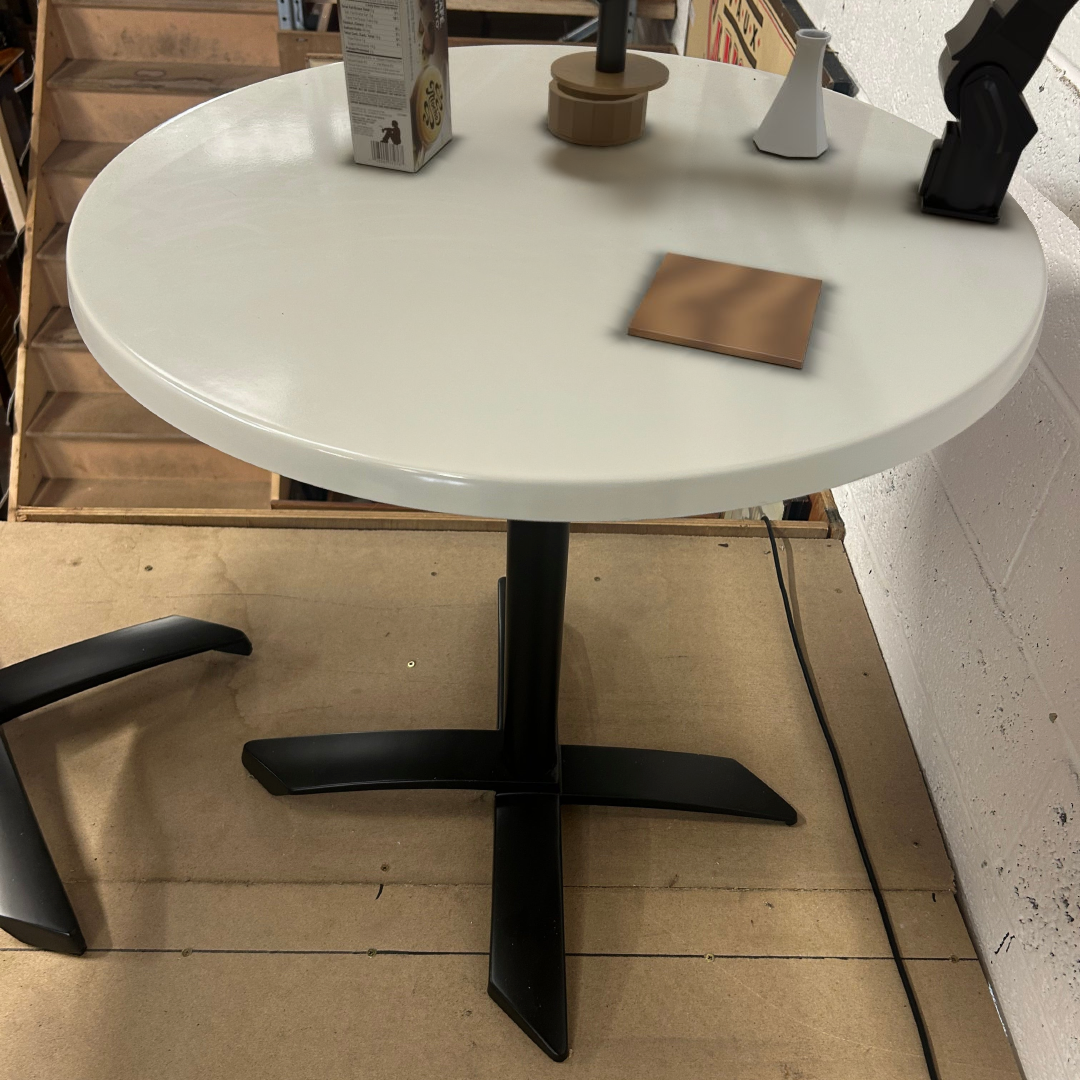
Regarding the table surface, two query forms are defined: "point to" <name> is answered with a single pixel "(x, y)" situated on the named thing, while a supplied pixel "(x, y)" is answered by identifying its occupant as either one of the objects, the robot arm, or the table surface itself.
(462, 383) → the table surface
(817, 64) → the flask
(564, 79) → the tin lid
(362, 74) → the coffee box
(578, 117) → the tin
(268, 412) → the table surface
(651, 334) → the cork mat
